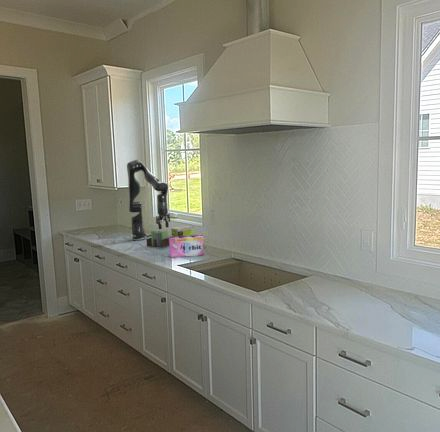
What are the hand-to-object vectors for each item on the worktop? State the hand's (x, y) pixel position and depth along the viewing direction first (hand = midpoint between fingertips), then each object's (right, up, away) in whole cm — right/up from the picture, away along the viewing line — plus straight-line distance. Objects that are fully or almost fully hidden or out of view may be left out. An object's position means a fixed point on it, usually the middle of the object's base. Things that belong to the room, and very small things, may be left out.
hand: (163, 228), depth 321 cm
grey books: (-3, -14, +3) cm, 15 cm away
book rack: (-5, -15, +4) cm, 16 cm away
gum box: (+24, -19, -27) cm, 41 cm away
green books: (-7, -14, +5) cm, 16 cm away
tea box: (+14, -14, +8) cm, 21 cm away
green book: (0, -14, +2) cm, 14 cm away
